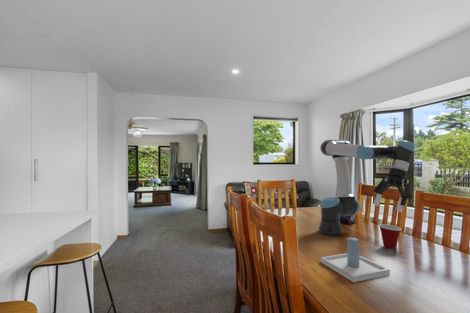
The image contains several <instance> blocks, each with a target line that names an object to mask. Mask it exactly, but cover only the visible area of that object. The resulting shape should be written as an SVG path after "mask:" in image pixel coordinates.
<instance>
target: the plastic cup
mask: <svg viewBox="0 0 470 313" xmlns="http://www.w3.org/2000/svg"><path fill="white" fill-rule="evenodd" d="M378 227H379V228H380V234H381V240H382V244H383V247H384V248H385V249H389V250H396V249H397V246H398V242H399V237H400V234H401V231H402V230H403V229H402V228H401V227H399V226H396V225H391V224H387V223H385V224H383V223H380V224H378Z"/></svg>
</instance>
